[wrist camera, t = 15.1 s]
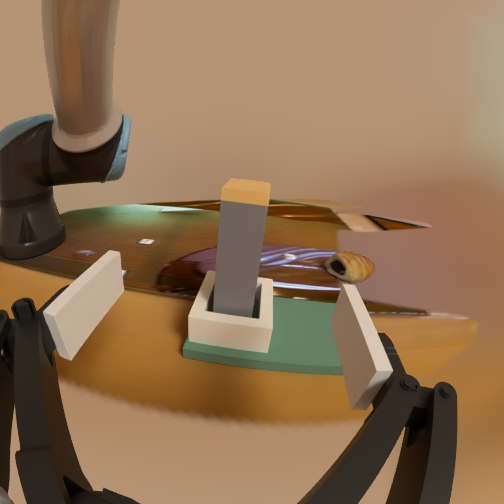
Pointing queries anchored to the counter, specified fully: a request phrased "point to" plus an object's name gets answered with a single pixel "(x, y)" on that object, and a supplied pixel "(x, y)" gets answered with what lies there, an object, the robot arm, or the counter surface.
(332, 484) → the robot arm
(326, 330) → the board
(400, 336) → the counter surface
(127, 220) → the counter surface
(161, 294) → the counter surface
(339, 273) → the pastry
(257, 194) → the plug
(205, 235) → the counter surface
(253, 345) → the header
